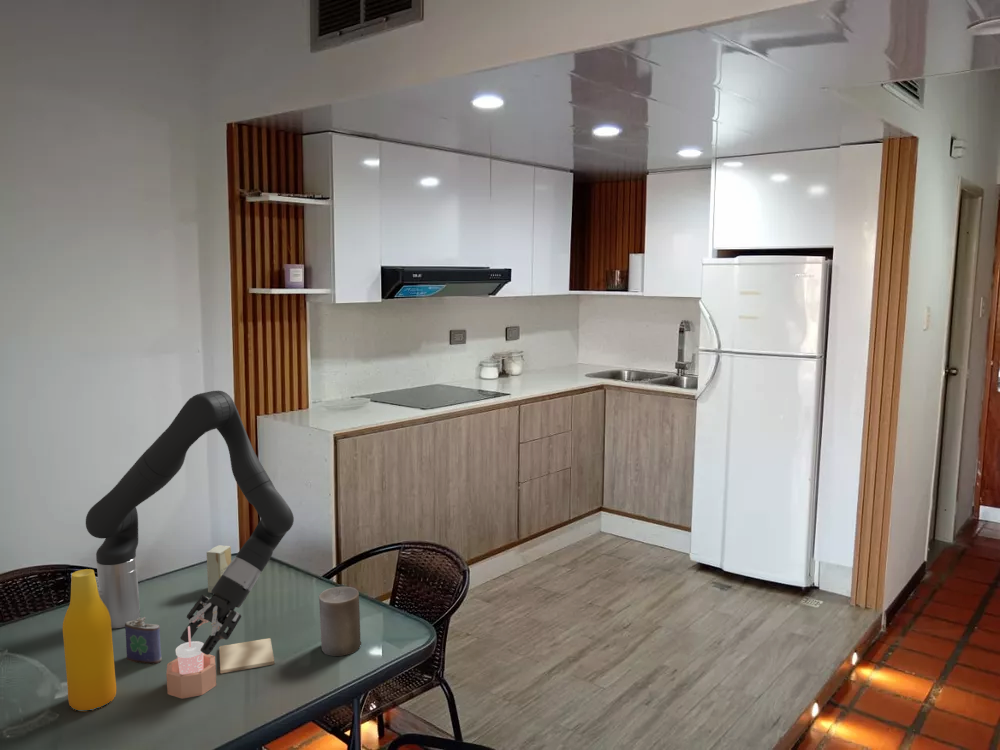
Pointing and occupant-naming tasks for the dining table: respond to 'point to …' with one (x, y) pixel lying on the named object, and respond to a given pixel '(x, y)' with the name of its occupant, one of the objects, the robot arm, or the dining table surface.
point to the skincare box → (217, 564)
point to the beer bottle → (88, 645)
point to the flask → (143, 642)
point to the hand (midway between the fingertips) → (193, 647)
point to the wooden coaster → (246, 655)
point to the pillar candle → (340, 621)
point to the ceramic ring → (191, 679)
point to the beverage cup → (190, 656)
